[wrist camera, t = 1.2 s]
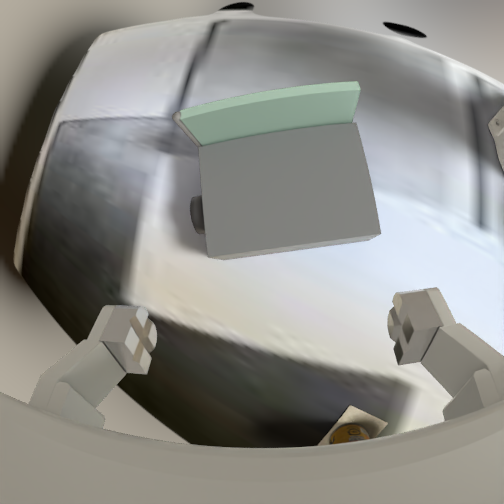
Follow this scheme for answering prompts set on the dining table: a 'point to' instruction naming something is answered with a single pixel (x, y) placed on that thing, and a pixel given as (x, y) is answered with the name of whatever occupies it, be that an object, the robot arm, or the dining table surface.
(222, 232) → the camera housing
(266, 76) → the dining table surface
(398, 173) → the dining table surface
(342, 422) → the condiment
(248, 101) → the side door
